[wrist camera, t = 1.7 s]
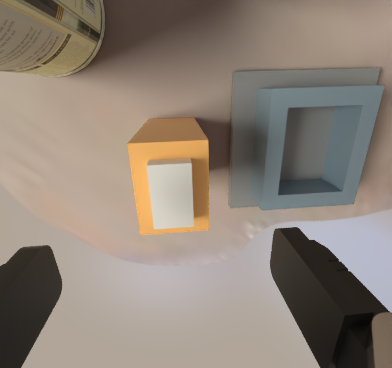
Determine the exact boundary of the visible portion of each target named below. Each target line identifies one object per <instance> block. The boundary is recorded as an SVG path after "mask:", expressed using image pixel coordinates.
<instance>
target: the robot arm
mask: <svg viewBox="0 0 392 368" xmlns="http://www.w3.org/2000/svg"><path fill="white" fill-rule="evenodd" d="M270 268H271V273H272V276H273V279H274V281H275V283H276V285H277V287H278V288H279V290H280V292H281V294H282V296H283V298H284V300H285V302H286V304H287V306H288V307H289V309H290V311H291V313H292V315H293V317H294V319H295V321H296V323H297V325H298V326H299V328H300V330H301V332H302V334H303V336H304V338H305V340H306V342H307V343H308V345H309V347H310V349H311V351H312V353H313V355H314V356H315V359H316V360H317V362H318V364H319V366H320V368H392V313H391V312H389V311H388V310H387V309H386V308H385V307H384V306H383V305H382V303H380V301H379V300H378V299H377V298H376V297H375V296H374V295H373V294H372V293H371V292H370V291H369V290H368V289H367V288H366V287H365V286H364V285H363V284H362V283H361V282H360V281H359V280H358V279H357V278H356V277H355V276H354V275H353V274H352V273H351V272H349V271H348V269H347V268H346V267H345V266H344V264H342V262H339V259H338V258H336V256H335V255H334V254H333V253H332V252H331V251H330V250H329V249H328V248H326V247H325V246H323V245H321V244H319V243H318V242H316V241H315V240H309V239H308V238H307V237H306V236H305V235H304V234H303V232H302V231H301V230H300V229H299V228H297V227H293V228H278V229H275V231H274V234H273V242H272V251H271V260H270ZM61 290H62V279H61V276H60V273H59V270H58V266H57V263H56V261H55V257H54V254H53V251H52V249H51V247H50V246H48V245H45V246H31V247H23V248H21V249H19V250H18V251H17V252H16V253H15V254H14V255H13V256H12V257H11V259H10V260H9V261H8V262H7V263H6V264H3V265H1V266H0V368H21V367H22V365H23V363H24V361H25V359H26V358H27V356H28V354H29V352H30V350H31V348H32V347H33V345H34V343H35V341H36V339H37V337H38V336H39V334H40V332H41V330H42V328H43V327H44V325H45V323H46V321H47V319H48V317H49V315H50V314H51V312H52V310H53V308H54V307H55V305H56V303H57V301H58V299H59V297H60V294H61Z"/></svg>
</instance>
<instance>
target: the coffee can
mask: <svg viewBox="0 0 392 368" xmlns="http://www.w3.org/2000/svg"><path fill="white" fill-rule="evenodd" d="M105 23H106V22H105V10H104V4H103V0H0V71H5V72H16V73H26V74H38V75H42V76H47V77H61V76H67V75H71V74H73V73H76V72H78V71H80V70H81V69H83V68H84V67H86V66H87V65H88V64H89V63H90V62H91V61H92V59H93V58H94V57H95V56H96V54H97V52H98V51H99V48H100V46H101V43H102V41H103V36H104V31H105Z"/></svg>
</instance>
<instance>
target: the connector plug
mask: <svg viewBox="0 0 392 368" xmlns="http://www.w3.org/2000/svg"><path fill="white" fill-rule="evenodd" d="M127 145H128V152H129V159H130V166H131V173H132V180H133V187H134V194H135V201H136V208H137V215H138V222H139V229H140V235H148V234H162V233H176V232H190V231H204V230H209V154H208V139H207V137H206V135H205V134H204V132H203V131H202V129H201V128H200V126H199V125H198V123H197V122H196V120H195V118H170V119H148V121H147V122H146V123H145V124H144V125H143V126H142V127H141V129H140V130H139V131H138V132H137V133H136V134H135V135H134V137H133V138H132V139H131V140H130V141H129V142H128V143H127Z"/></svg>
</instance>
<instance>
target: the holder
mask: <svg viewBox="0 0 392 368" xmlns="http://www.w3.org/2000/svg"><path fill="white" fill-rule="evenodd" d="M380 69H381V68H349V69H311V70H274V71H236V72H232V97H231V132H230V168H229V206H230V208H242V207H257V206H259V208H260V209H261V210H273V209H288V208H303V207H318V206H333V205H348V204H354V201H355V198H356V194H357V190H358V186H359V182H360V178H361V175H362V171H363V167H364V163H365V159H366V155H367V152H368V148H369V144H370V140H371V136H372V132H373V128H374V125H375V121H376V117H377V113H378V109H379V105H380V102H381V98H382V94H383V90H384V86H385V85H377V81H378V77H379V73H380Z"/></svg>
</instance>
